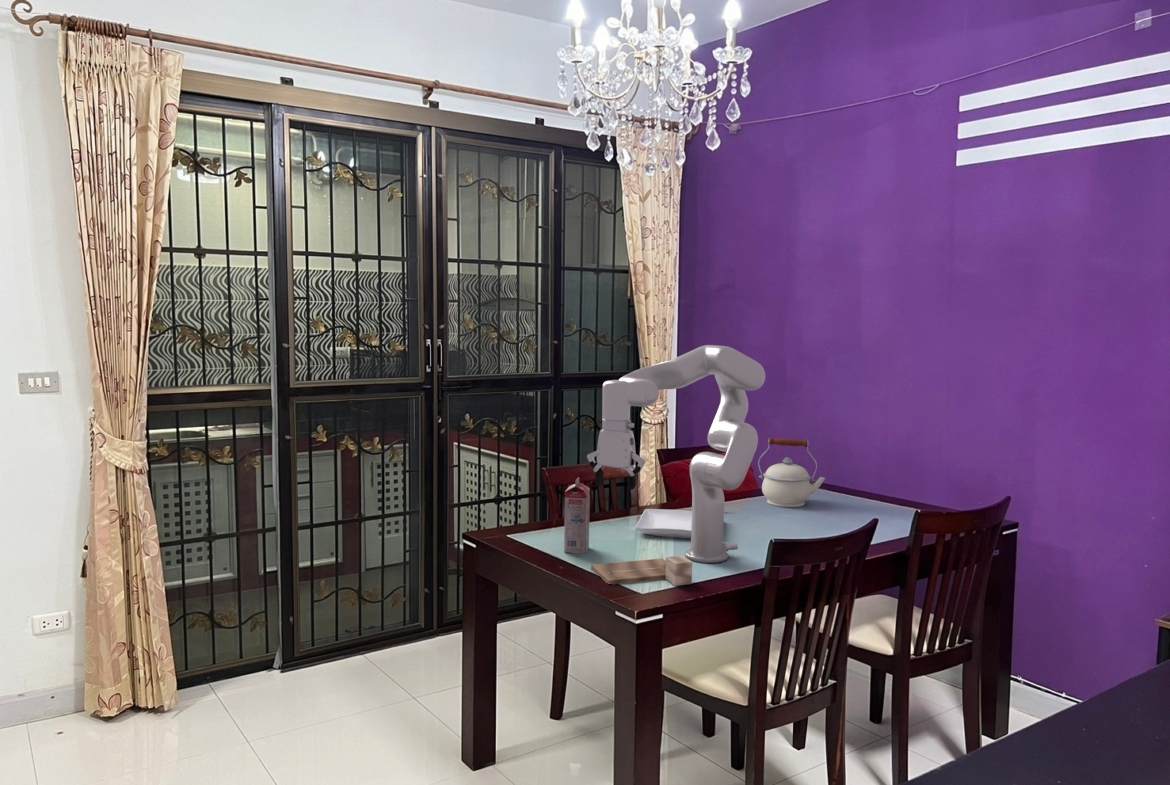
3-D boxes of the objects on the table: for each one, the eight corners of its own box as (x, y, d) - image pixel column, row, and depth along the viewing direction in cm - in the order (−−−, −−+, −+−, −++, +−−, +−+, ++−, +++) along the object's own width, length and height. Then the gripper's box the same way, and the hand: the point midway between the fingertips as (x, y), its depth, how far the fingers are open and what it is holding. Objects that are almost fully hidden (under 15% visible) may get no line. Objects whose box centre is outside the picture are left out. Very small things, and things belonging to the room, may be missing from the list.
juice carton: (564, 552, 252) (565, 480, 250) (567, 546, 259) (568, 476, 256) (585, 553, 251) (586, 481, 249) (588, 547, 258) (589, 477, 256)
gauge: (672, 570, 236) (673, 549, 235) (691, 583, 224) (692, 562, 224) (656, 571, 234) (657, 551, 233) (674, 585, 223) (675, 563, 222)
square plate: (719, 544, 265) (719, 532, 264) (633, 538, 270) (634, 526, 270) (722, 522, 291) (722, 511, 291) (644, 517, 297) (645, 507, 296)
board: (662, 562, 244) (662, 558, 244) (682, 577, 231) (683, 572, 230) (591, 569, 237) (591, 564, 236) (608, 584, 223) (608, 580, 223)
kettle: (754, 506, 315) (757, 440, 312) (759, 495, 332) (761, 433, 330) (823, 511, 308) (826, 445, 305) (824, 500, 325) (827, 437, 322)
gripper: (650, 426, 226) (649, 488, 228) (594, 421, 234) (593, 481, 236) (639, 430, 219) (638, 494, 221) (581, 425, 227) (581, 486, 229)
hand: (615, 487), depth 228 cm, fingers open, 9 cm apart
